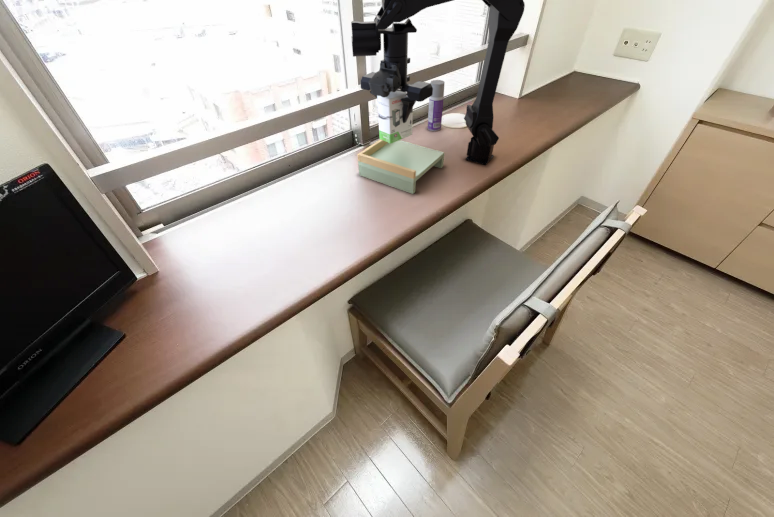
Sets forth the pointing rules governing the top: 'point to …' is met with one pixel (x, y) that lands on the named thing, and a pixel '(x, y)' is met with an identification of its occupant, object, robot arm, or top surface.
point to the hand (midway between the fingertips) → (395, 120)
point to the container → (436, 105)
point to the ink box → (393, 118)
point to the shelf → (398, 163)
